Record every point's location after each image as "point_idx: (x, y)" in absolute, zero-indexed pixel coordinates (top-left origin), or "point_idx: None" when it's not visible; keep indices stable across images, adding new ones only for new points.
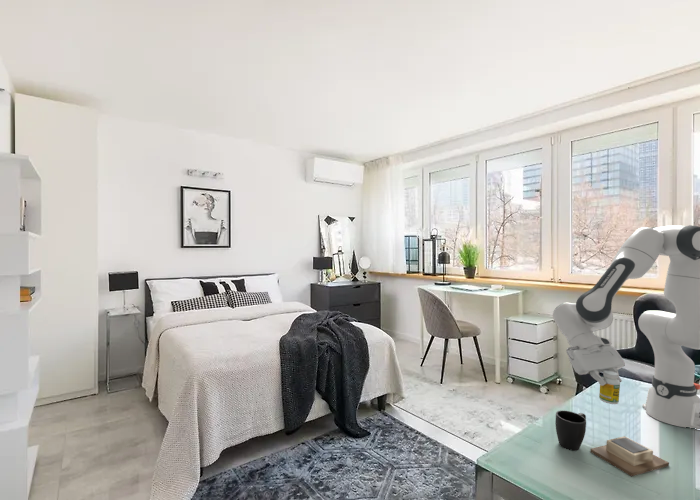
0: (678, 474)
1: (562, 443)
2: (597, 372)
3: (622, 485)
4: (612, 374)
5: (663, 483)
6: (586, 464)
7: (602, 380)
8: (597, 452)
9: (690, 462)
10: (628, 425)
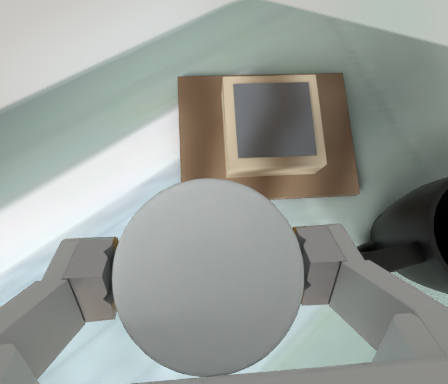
0: (194, 51)
1: (442, 235)
2: (422, 326)
3: (395, 61)
4: (260, 202)
5: (279, 39)
6: (419, 149)
7: (355, 247)
8: (355, 170)
9: (87, 77)
10: None
